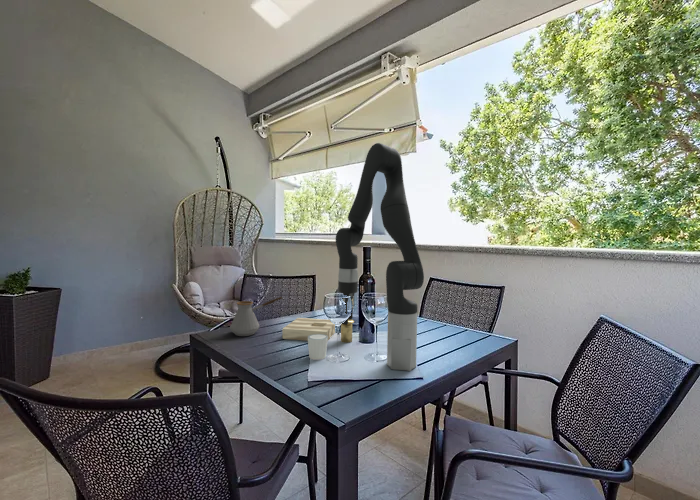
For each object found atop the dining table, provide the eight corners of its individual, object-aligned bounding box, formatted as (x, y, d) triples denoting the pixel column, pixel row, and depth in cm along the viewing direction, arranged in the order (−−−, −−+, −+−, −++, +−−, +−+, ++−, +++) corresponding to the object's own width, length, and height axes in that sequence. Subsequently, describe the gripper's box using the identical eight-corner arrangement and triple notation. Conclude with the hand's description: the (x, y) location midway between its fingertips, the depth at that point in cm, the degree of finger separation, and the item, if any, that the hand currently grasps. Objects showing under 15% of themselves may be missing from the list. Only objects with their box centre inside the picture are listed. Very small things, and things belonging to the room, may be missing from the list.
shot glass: (309, 361, 113) (309, 340, 113) (305, 354, 120) (306, 334, 120) (329, 359, 115) (329, 338, 115) (325, 352, 122) (325, 332, 121)
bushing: (352, 343, 132) (352, 322, 131) (337, 342, 133) (337, 322, 132) (355, 339, 137) (355, 319, 137) (340, 338, 138) (341, 318, 138)
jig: (326, 342, 133) (327, 331, 133) (282, 338, 137) (282, 328, 137) (337, 329, 151) (337, 320, 151) (298, 326, 155) (298, 317, 154)
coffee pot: (227, 338, 137) (227, 300, 136) (232, 330, 148) (232, 295, 147) (283, 336, 140) (283, 299, 140) (283, 328, 152) (284, 294, 151)
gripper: (354, 283, 126) (353, 327, 128) (361, 277, 140) (360, 317, 141) (333, 282, 128) (333, 325, 129) (342, 276, 142) (342, 316, 143)
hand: (347, 321), depth 135 cm, fingers open, 8 cm apart
